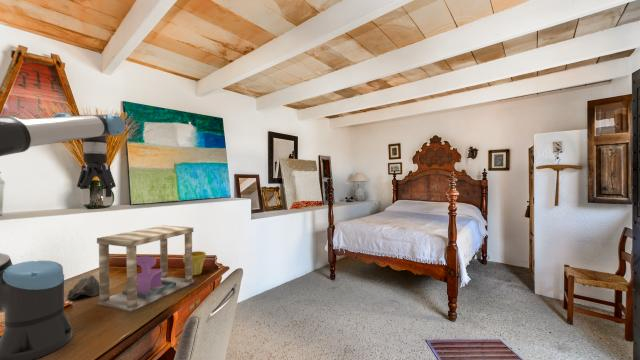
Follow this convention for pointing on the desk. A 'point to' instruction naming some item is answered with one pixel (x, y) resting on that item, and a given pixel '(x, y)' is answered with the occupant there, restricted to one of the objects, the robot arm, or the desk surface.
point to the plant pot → (197, 261)
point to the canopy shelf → (130, 240)
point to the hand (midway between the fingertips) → (96, 204)
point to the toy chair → (147, 274)
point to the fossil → (85, 287)
